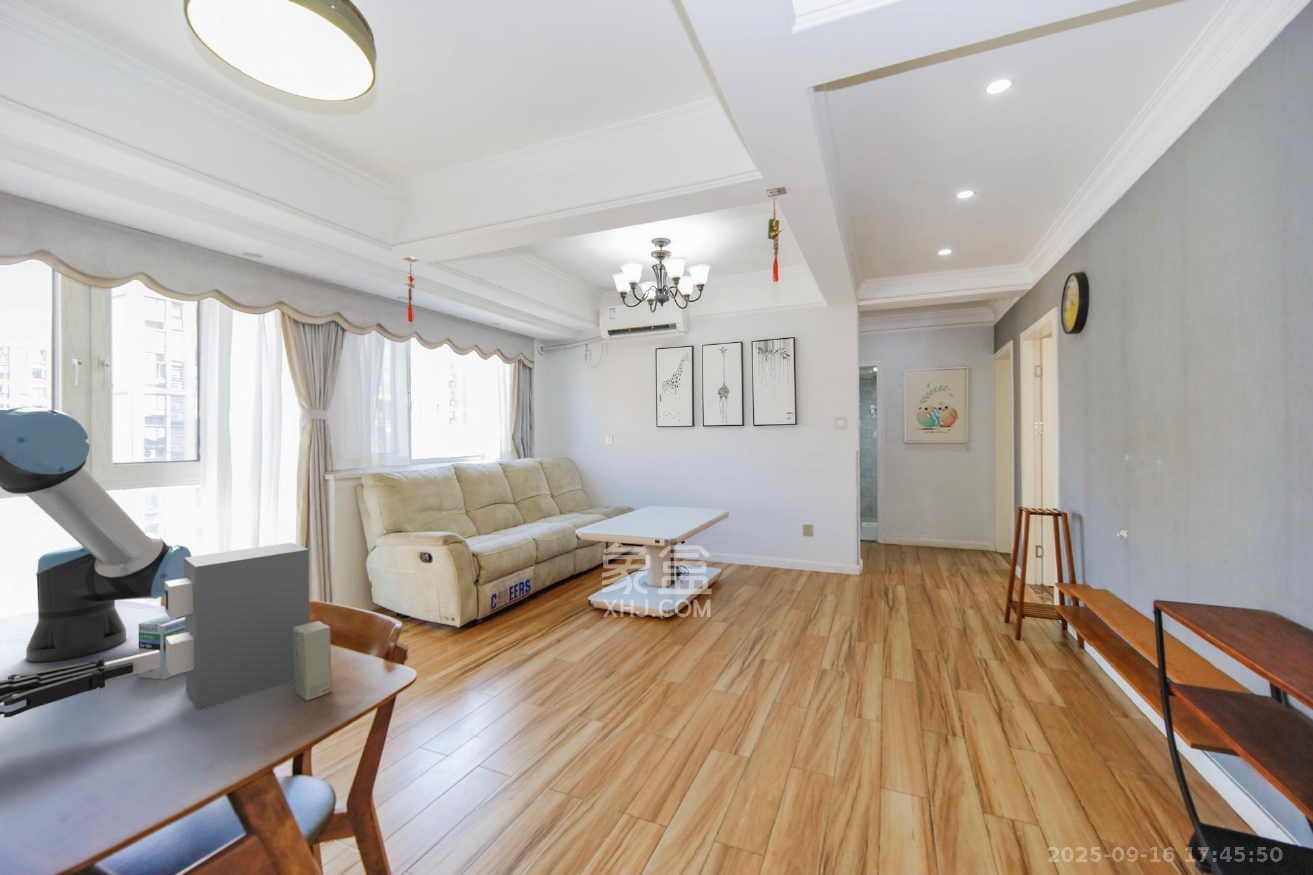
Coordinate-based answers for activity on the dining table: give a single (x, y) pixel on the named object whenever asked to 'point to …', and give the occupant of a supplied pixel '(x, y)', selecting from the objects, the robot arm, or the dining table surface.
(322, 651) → the skincare box
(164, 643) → the light bulb box
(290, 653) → the grey upright slab
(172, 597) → the white protruding block
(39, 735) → the dining table surface
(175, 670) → the plain button
